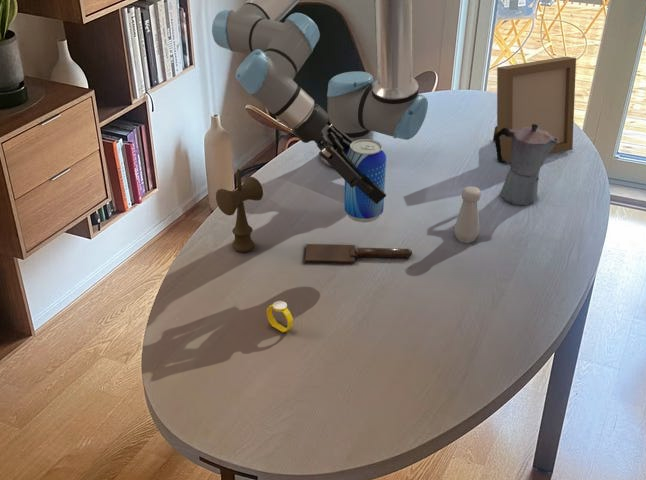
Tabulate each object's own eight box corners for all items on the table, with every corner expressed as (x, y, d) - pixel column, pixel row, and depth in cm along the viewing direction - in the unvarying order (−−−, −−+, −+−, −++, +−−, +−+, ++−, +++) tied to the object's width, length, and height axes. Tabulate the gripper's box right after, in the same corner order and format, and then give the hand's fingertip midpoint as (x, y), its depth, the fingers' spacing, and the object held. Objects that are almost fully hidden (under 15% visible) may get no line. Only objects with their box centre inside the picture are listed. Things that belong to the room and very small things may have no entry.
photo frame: (571, 152, 229) (589, 65, 214) (505, 166, 222) (519, 76, 207) (540, 131, 240) (555, 46, 225) (476, 144, 233) (487, 57, 218)
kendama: (218, 251, 186) (211, 172, 174) (249, 235, 192) (245, 157, 180) (236, 261, 183) (230, 181, 171) (267, 244, 189) (264, 165, 177)
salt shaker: (463, 229, 195) (470, 180, 188) (483, 238, 192) (490, 189, 184) (448, 238, 192) (453, 188, 184) (467, 247, 189) (474, 198, 181)
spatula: (411, 248, 188) (411, 241, 187) (412, 265, 183) (413, 257, 182) (306, 246, 189) (306, 239, 187) (305, 262, 183) (305, 255, 182)
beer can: (362, 228, 172) (365, 159, 162) (336, 213, 177) (336, 144, 167) (391, 215, 176) (395, 147, 167) (364, 200, 181) (366, 133, 172)
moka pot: (547, 210, 203) (562, 135, 191) (485, 203, 206) (495, 129, 193) (547, 191, 211) (561, 118, 199) (487, 185, 213) (497, 112, 201)
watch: (264, 325, 165) (263, 301, 161) (273, 319, 166) (272, 295, 163) (286, 337, 162) (285, 313, 158) (295, 331, 163) (295, 307, 160)
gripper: (291, 107, 173) (365, 175, 183) (287, 152, 156) (369, 225, 166) (316, 83, 170) (390, 154, 180) (315, 126, 153) (396, 202, 163)
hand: (380, 188), depth 173 cm, fingers closed on beer can, 8 cm apart
